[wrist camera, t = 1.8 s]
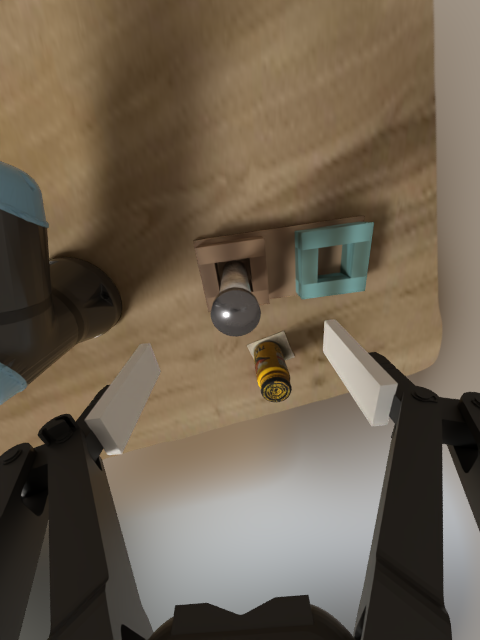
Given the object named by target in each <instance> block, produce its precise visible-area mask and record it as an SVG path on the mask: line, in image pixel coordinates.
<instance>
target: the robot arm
mask: <svg viewBox="0 0 480 640" xmlns="http://www.w3.org/2000/svg"><path fill="white" fill-rule="evenodd" d="M47 228H49V224H48V222H47V221H46V218H45V212H44V206H43V199H42V193H41V190H40V188H39V186H38V184H37V183H36V182H35V181H34V179H33V178H32V177H30V176H29V175H28V174H27V173H25V172H24V171H22V170H20V169H18V168H16V167H14V166H11V165H9V164H7V163H4V162H2V161H0V405H1V404H3V403H4V402H5V401H7V400H8V399H9V398H11V397H12V396H14V395H15V394H17V393H18V392H21V391H23V390H24V389H25V388H26V387H27V385H28V384H30V383H31V382H32V381H33V380H34V379H36V378H37V377H38V376H39V375H40V374H41V373H43V372H44V371H45V370H46V369H47V368H49V367H50V366H51V365H52V364H53V363H55V362H56V361H57V360H58V359H59V358H60V357H62V356H63V355H64V354H65V353H66V352H68V351H69V350H70V349H71V348H72V347H74V346H75V345H76V344H77V343H80V342H83V341H86V340H89V339H92V338H95V337H98V336H101V335H103V334H104V333H106V332H107V331H109V330H110V329H111V328H112V327H113V326H114V325H115V324H116V323H117V321H118V320H119V318H120V315H121V311H122V303H121V298H120V295H119V292H118V290H117V288H116V286H115V285H114V283H113V282H112V281H111V279H110V278H109V277H108V276H107V275H106V274H105V273H104V272H102V271H101V270H100V269H99V268H97V267H96V266H94V265H92V264H90V263H88V262H86V261H83V260H80V259H76V258H70V257H61V258H56V259H51V260H49V251H48V236H47ZM323 352H324V354H325V355H326V357H327V358H328V360H329V361H330V363H331V364H332V366H333V368H334V369H335V371H336V372H337V374H338V375H339V377H340V378H341V380H342V381H343V383H344V384H345V386H346V387H347V389H348V390H349V392H350V393H351V395H352V397H353V398H354V400H355V401H356V403H357V404H358V406H359V407H360V409H361V410H362V412H363V413H364V415H365V417H366V418H367V420H368V421H369V423H370V424H371V426H381V425H387V424H388V420H389V417H390V418H391V419H392V420H393V422H394V423H395V425H394V429H393V432H392V436H391V438H392V440H391V445H390V450H389V456H388V461H387V466H386V472H385V477H384V482H383V487H382V492H381V498H380V503H379V509H378V514H377V519H376V525H375V529H374V535H373V540H372V545H371V551H370V556H369V561H368V566H367V571H366V577H365V582H364V587H363V591H362V596H361V600H360V604H359V609H358V614H357V619H356V624H355V629H354V634H353V636H352V635H351V634H350V632H349V631H348V630H347V629H346V628H345V627H344V626H343V625H342V624H341V623H340V622H339V621H338V620H337V619H335V618H334V617H333V616H332V615H330V614H329V613H328V612H326V611H324V610H323V609H321V608H319V607H317V606H314V605H311V604H310V601H309V596H308V595H300V596H287V597H276V598H273V599H271V600H269V601H268V602H266V603H264V604H262V605H260V606H258V607H257V608H255V609H253V610H251V611H249V612H247V613H245V614H243V615H238V614H235V613H233V612H230V611H227V610H225V609H222V608H219V607H217V606H214V605H211V604H209V603H200V604H188V605H176V606H175V611H174V617H172V618H170V619H169V620H167V621H166V622H165V623H163V624H162V625H161V626H160V627H159V628H158V629H157V630H156V631H155V632H154V633H153V630H152V627H151V624H150V622H149V619H148V617H147V615H146V613H145V611H144V609H143V607H142V605H141V601H140V598H139V594H138V590H137V587H136V583H135V579H134V576H133V572H132V568H131V565H130V561H129V557H128V554H127V550H126V546H125V542H124V539H123V535H122V532H121V528H120V524H119V520H118V517H117V513H116V510H115V506H114V502H113V498H112V495H111V491H110V487H109V484H108V480H107V476H106V473H105V469H104V465H103V462H102V459H101V457H100V456H99V455H100V453H101V452H102V450H103V449H104V450H105V452H106V453H107V454H108V455H114V454H122V452H123V450H124V448H125V446H126V444H127V442H128V440H129V438H130V436H131V433H132V431H133V429H134V427H135V425H136V423H137V421H138V419H139V417H140V414H141V412H142V410H143V408H144V406H145V404H146V402H147V400H148V398H149V395H150V393H151V391H152V389H153V387H154V385H155V383H156V381H157V379H158V376H159V374H160V372H161V371H160V368H159V365H158V363H157V360H156V358H155V355H154V352H153V350H152V347H151V344H150V343H146V344H140V345H139V347H138V348H137V349H136V351H135V352H134V353H133V355H132V356H131V357H130V359H129V360H128V361H127V363H126V364H125V366H124V367H123V368H122V370H121V371H120V372H119V374H118V375H117V376H116V378H115V379H114V381H113V382H112V383H111V385H106V386H105V387H104V388H103V389H102V390H100V391H99V392H98V394H97V395H96V396H95V397H94V400H92V401H91V403H90V404H89V406H87V408H86V409H85V410H84V412H83V413H82V414H81V416H80V417H79V418H78V419H77V421H76V422H75V420H74V419H73V417H72V416H71V415H70V414H63V415H60V416H57V417H55V418H53V419H52V420H50V421H49V422H47V423H46V424H45V425H44V426H43V427H42V428H41V429H40V431H39V433H38V436H39V438H40V439H41V440H42V441H43V442H44V443H45V444H44V445H41V446H38V447H36V448H33V447H32V446H31V445H30V444H29V443H22V444H19V445H16V446H14V447H12V448H11V449H9V450H8V451H6V452H5V453H3V454H2V455H1V456H0V640H18V639H19V635H20V631H21V627H22V623H23V619H24V615H25V611H26V607H27V603H28V599H29V595H30V591H31V587H32V583H33V579H34V575H35V571H36V567H37V563H38V559H39V555H40V551H41V547H42V543H43V539H44V535H45V532H46V528H47V523H48V520H49V558H50V610H51V630H50V635H49V638H48V639H47V640H452V634H451V623H450V618H449V615H448V613H447V611H446V609H445V606H444V597H443V496H442V494H443V491H442V444H447V446H448V449H449V451H450V454H451V457H452V459H453V462H454V465H455V467H456V470H457V473H458V475H459V478H460V481H461V483H462V486H463V488H464V491H465V494H466V496H467V499H468V502H469V504H470V507H471V510H472V512H473V515H474V518H475V520H476V522H477V525H478V528H479V531H480V393H477V392H467V393H464V394H463V395H462V396H461V398H460V400H458V399H450V398H442V397H439V396H438V395H437V394H435V393H434V392H432V391H431V390H429V389H426V388H423V387H419V386H415V385H414V384H413V383H412V382H411V381H410V380H409V379H407V378H406V376H404V375H403V374H402V373H401V372H400V371H399V370H398V369H396V367H395V366H394V365H393V364H391V362H390V361H389V360H387V359H386V358H385V357H384V356H382V355H380V354H378V353H377V352H371V353H367V352H366V350H365V349H364V348H363V347H362V346H361V345H360V344H359V343H358V342H357V341H356V340H355V339H354V338H353V337H352V336H351V335H350V334H349V333H348V332H347V331H346V330H345V329H344V328H343V327H342V326H341V325H340V324H339V323H338V322H337V321H336V320H335V319H333V320H325V322H324V343H323Z"/></svg>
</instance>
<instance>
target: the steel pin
mask: <svg viewBox="0 0 480 640" xmlns="http://www.w3.org/2000/svg"><path fill="white" fill-rule="evenodd" d="M260 315H261V311H260V307H259V303H258V301H257V299H256V297H255V296H254V295H253V294H252V293H251V290H250V285H249V281H248V277H247V272H246V268H245V266H244V264H243V263H242V262H240V261H237V260H232V261H229V262H228V263H227V264H226V265H225V266H224V269H223V275H222V281H221V286H220V292H219V294H218V295H217V296H216V298H215V299H214V301H213V304H212V308H211V319H212V322H213V324H214V326H215V327H216V328H217V329H218V330H219V331H220V332H222V333H224V334H226V335H229V336H242V335H245V334H248V333H249V332H251V331H252V330H253V329H254V328H255V327H256V326H257V324H258V323H259V320H260Z"/></svg>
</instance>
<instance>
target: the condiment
mask: <svg viewBox="0 0 480 640" xmlns="http://www.w3.org/2000/svg"><path fill="white" fill-rule="evenodd" d="M278 342H279V343H278ZM247 347H248V349H249V351H250V353H251V355H252V357H253V359H254V362H255V369H256V374H257V381H258V385H259V387H260V389H261V394H262V396H263V397H264V398H265V399H266V400H268V401H271V402H280V401H284V400H285V399H287V398H288V397H289V395H290V393H291V390H292V389H291V385H290V375H289V372H288V369H287V366H286V363H285V360H288V359H291V358H294V355H293V352H292V350H291V347H290V345H289V342H288V340H287V338H286V335H285V333H284V331H283V332H280V333H277V334H275V335H273V336H270V337H267V338H264V339H262V340H259V341H257V342H254V343H251V344H249V345H247Z"/></svg>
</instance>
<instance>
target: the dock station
mask: <svg viewBox="0 0 480 640" xmlns="http://www.w3.org/2000/svg"><path fill="white" fill-rule="evenodd" d="M364 217H365V216H356V217H349V218H342V219H335V220H329V221H322V222H315V223H308V224H301V225H295V226H288V227H281V228H274V229H267V230H261V231H254V232H247V233H240V234H233V235H227V236H220V237H213V238H206V239H199V240H194V241H193V243H194V247H195V252H196V257H197V261H198V266H199V270H200V275H201V279H202V284H203V289H204V293H205V298H206V302H207V307H208V311H209V312H211V308H212V304H213V301H214V299H215V298H216V296H217V295H218V294H219V292H220V286H221V281H222V275H223V269H224V266H225V265H226V264H227V263H228V262H229V261H232V260H237V261H240V262H242V263H243V264H244V266H245V268H246V272H247V277H248V281H249V285H250V290H251V293H252V294H253V295H254V296H255V297H256V299H257V301H258V303H259V305H264V304H270V303H269V299H273V298H281V297H288V296H296V295H299V296H300V297H301V299H308V298H315V297H323V296H330V295H338V294H345V293H352V292H360V291H365V286H366V279H367V271H368V264H369V256H370V249H371V241H372V234H373V226H374V222H364Z"/></svg>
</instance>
